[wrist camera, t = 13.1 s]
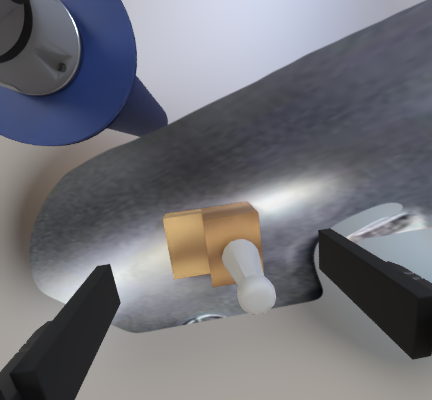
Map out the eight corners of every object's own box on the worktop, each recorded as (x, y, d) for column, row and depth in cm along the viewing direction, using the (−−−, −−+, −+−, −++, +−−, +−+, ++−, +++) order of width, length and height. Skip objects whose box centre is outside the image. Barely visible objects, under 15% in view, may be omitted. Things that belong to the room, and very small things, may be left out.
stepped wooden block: (165, 213, 43) (158, 227, 35) (247, 201, 44) (258, 212, 36) (175, 269, 46) (171, 294, 38) (253, 257, 46) (264, 278, 39)
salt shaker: (229, 272, 38) (245, 333, 25) (214, 243, 37) (223, 292, 24) (260, 257, 38) (292, 310, 25) (247, 228, 36) (273, 269, 24)
